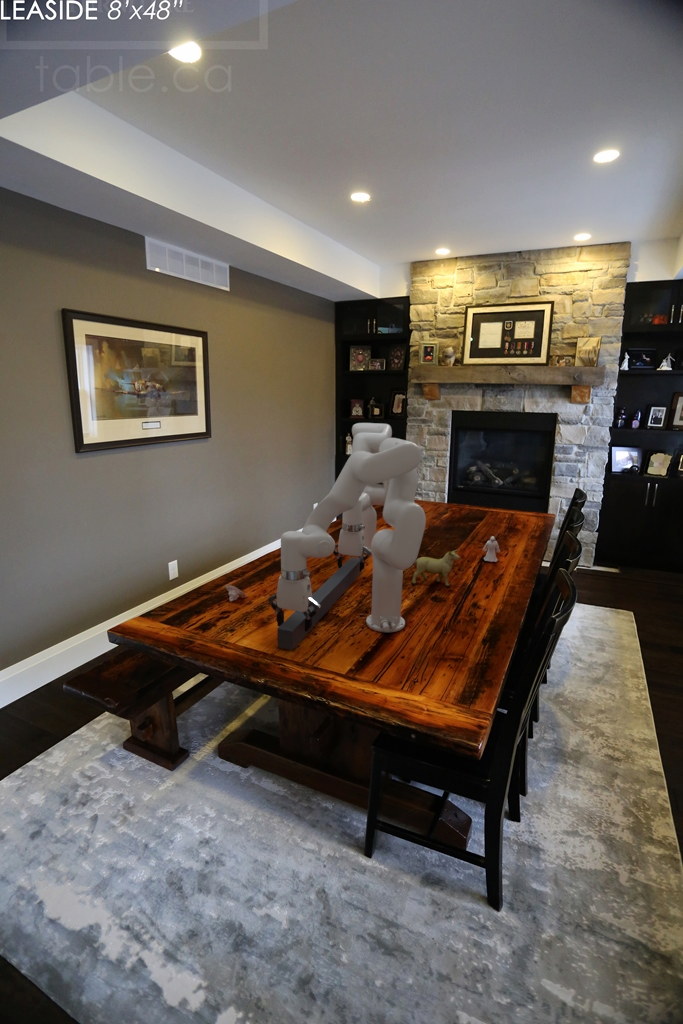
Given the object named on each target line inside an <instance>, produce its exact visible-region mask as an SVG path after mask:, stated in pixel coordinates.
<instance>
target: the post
mask: <svg viewBox="0 0 683 1024" xmlns="http://www.w3.org/2000/svg"><path fill="white" fill-rule="evenodd" d="M360 561H361V560H360V559H359V557H353V556H350V558H348V560H346V561H345V562H344V563H343V564H342V566H341V567H340V568H338V569H337V570H336V571H335V572H334V573H333V574H332V575H331V576H330V577H329V578H328V579H327V580H325V582H323V584H321V586H320V587H318V588H317V590H316V591H315V592H313V593H312V599H313V600H314V601H316V602H317V603H318V604H319V605H321V608H320V609H319V611H318V612H317V613H316V614H315V615H314V616H313V617H312V627H311V628H310V629H309V630H308V631H307V632H306V631H305V619H306V617H305V615H304V614H303V612H298V611H294V612H293V613H291V615H289V617H287V619H285V620H284V623H283V624H282V625H280V626H277V629H276V631H277V632H276V633H277V634H276V635H277V648H280V649H283V650H289V651H294V650H295V648H297V647H298V645H299V644H301V642H302V641H303V640H304V638H305V637H306V636H307V635H308V634H309V633H310V632H311V631H312V629H313V628H314V627H315V626H316V625H317V624H318V623H319V622H320V620H322V618H323V617H324V616H326V613H328V611H329V610H330V609H332V607H333V606H334V605H335V603H336V602H337V601H338V600H339V599H340V598H341V597H342V596H343V594H344V593H346V591H347V590H348V589H349V588H350V587H351V586H352V584H353V583H354V582H355V581H356V580H357V579H358V577H359V576H360V575H362V572H363V570H362V571H361V572H360V571H359V569H360ZM310 609H311V610H312V611H313V610H314V607H313V606H311V607H310Z"/></svg>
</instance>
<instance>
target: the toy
mask: <svg viewBox="0 0 683 1024" xmlns="http://www.w3.org/2000/svg"><path fill="white" fill-rule="evenodd" d="M457 552H459V549H455V550H452V551H447V552H446V553H445V554H444V556H443V557H442V558H433V557H428V556H421V557H417V558H416V560H415V562H414V564H415V567H416V571H414V572H413V577H412V582H411V583H412V584H413V585H417V581H416V580H417V578H418V576H419V575H420V576H421V577H422V578H423V580H424V581H427V580H428V577H427V575H426V574H425V573H428V574H431V575H437V577H436V580H435V581H436V582H437V583H441V580H440V579H441V577H442V578H443V580H444V584H445V587H448V588H449V587H451V585H450V583H449V582H448V575H449V574H450V572H451V571H452V568H453V566H454V561H460V560H461V556H459V555H458V554H457Z"/></svg>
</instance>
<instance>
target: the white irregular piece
mask: <svg viewBox="0 0 683 1024" xmlns="http://www.w3.org/2000/svg"><path fill="white" fill-rule="evenodd" d="M224 587H225V589H226V591H227V592H228V596H229V597H228V601H229V602H234V601H236V600H237V599H239V598H244V599H245V598H247V595H246V593H245V592H244V591H243V590H241V589H240V588H239V587H237V586H235V585H231V584H226V585H224Z"/></svg>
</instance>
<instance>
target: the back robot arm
mask: <svg viewBox="0 0 683 1024" xmlns="http://www.w3.org/2000/svg"><path fill="white" fill-rule="evenodd" d="M351 433H352V437H353V439H352V444H351V445H352V446H351V454H350V456H351V455H352V454H353V453H354V452H357V451H365V452H369V453H372V454H375V453H379V447H380V444H381V443H382V442H383V441H384V440H385V439H388V438H392V435H393V430H392V426H391V425H390V424H388V423H379V422H378V423H374V422H357V423H355V424H353V425H352V427H351ZM389 483H390V480H387V481H384V482H381V484H380V483H378V484H367V485H366V487H365V489H364V491H363V492H362V494H361V496H360V498H359V500H358V502H357V504H356V505H355V507H354V508H352V509H351V510H348V511H346V512H343V513H342V522H341V523H342V527H341V529H340V532H339V537H338V543H335V549H334V551H333V553H332V554H333V555H334V556H335V558H336V560H337V561H336V563H337V564H336V565H337V568H338V569H339V568H340V567H341V566H343V565H344V563H343V555H344V556H349V557H357V558H359V559H360V560H361V561H360V569H359V571H360V572H361V571H362V572H363V571H364V569H365V565H366V561H367V560H368V559H369V558H370V556H372V551H371V543H372V539H373V537H374V535H375V534H376V533H377V518H378V515H377V511H376V509H375V508H374V507H373V506H384V505H385V501H386V497H387V492H388V488H389ZM364 554H366V555H364Z"/></svg>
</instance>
